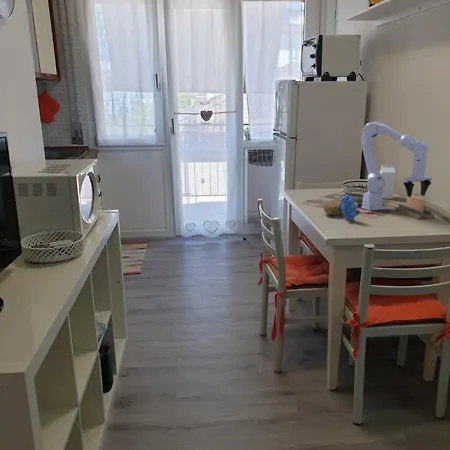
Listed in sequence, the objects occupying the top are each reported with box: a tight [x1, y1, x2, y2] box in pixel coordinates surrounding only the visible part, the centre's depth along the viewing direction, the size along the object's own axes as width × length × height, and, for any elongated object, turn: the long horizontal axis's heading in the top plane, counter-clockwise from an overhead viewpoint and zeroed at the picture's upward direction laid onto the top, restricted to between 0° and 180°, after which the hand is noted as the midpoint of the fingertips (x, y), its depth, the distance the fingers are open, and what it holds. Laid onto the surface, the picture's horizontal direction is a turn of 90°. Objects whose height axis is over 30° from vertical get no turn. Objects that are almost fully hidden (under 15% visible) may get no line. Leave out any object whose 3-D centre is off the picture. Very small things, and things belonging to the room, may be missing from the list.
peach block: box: [405, 194, 425, 212], centre depth 228 cm, size 2×10×7 cm, turn 16°
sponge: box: [323, 198, 359, 216], centre depth 233 cm, size 13×8×20 cm
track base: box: [394, 203, 436, 220], centre depth 229 cm, size 9×18×3 cm, turn 16°
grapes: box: [340, 194, 358, 222], centre depth 220 cm, size 12×7×12 cm, turn 23°
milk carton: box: [379, 163, 396, 199], centre depth 263 cm, size 7×7×19 cm
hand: (415, 195), depth 227 cm, fingers open, 7 cm apart
